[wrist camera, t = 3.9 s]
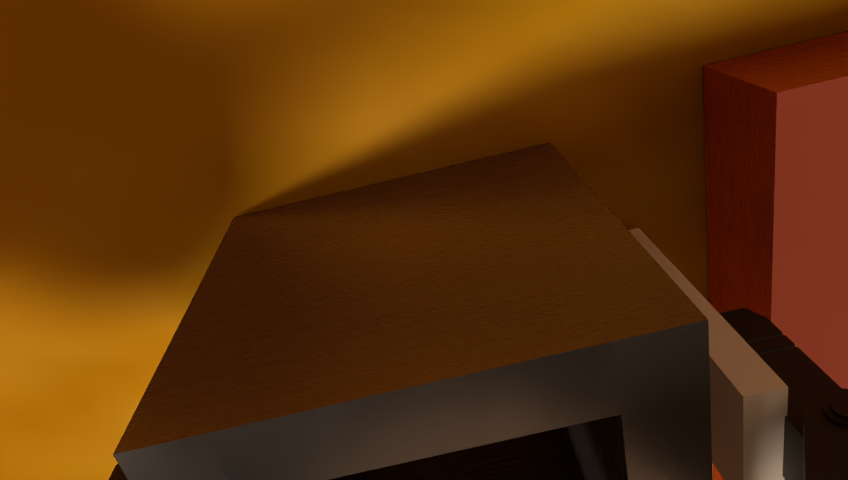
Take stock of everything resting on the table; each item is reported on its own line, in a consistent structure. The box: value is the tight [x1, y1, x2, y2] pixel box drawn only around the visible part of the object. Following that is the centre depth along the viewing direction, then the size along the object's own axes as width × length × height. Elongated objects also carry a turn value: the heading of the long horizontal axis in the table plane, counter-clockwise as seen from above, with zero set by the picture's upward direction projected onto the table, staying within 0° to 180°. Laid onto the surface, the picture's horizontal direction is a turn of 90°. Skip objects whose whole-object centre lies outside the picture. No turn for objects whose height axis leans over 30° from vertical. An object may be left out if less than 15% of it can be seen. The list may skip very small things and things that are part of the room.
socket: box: [113, 143, 713, 480], centre depth 14 cm, size 8×8×8 cm
